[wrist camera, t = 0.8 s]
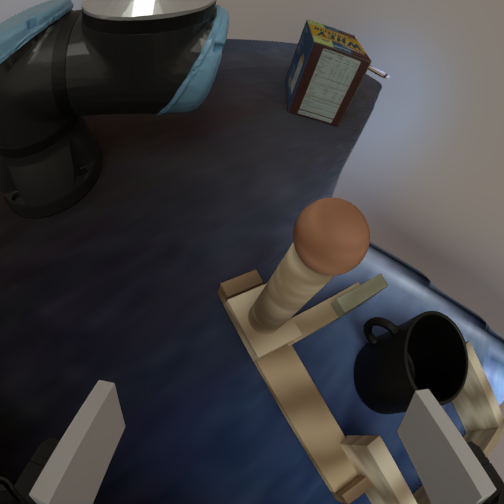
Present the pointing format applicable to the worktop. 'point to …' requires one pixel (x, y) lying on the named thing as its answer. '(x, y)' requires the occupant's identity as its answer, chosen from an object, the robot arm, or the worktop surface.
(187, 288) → the worktop surface
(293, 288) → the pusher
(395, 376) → the mug
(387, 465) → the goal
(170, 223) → the worktop surface
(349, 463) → the rail
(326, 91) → the protein box
